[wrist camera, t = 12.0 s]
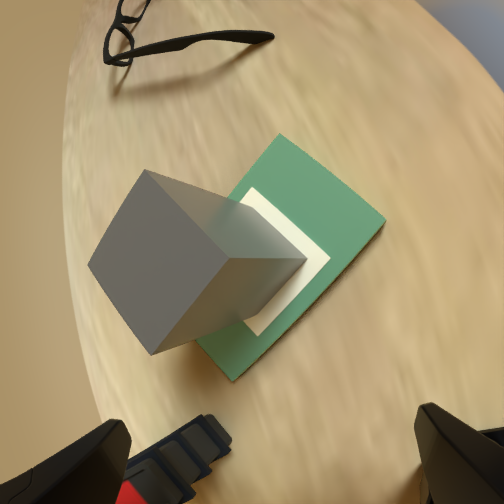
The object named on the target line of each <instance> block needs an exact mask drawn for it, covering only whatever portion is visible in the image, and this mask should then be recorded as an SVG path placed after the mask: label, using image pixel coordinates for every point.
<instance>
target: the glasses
mask: <svg viewBox="0 0 504 504" xmlns="http://www.w3.org/2000/svg"><path fill="white" fill-rule="evenodd" d="M123 1H124V0H119V3H118V6H117V10H116V16H115V19H114V22H113V24H112V26H111V27H110V29H109V31H108V33H107V35H106V38H105V42H104V48H103V61H104V63H105V64H107V65H115V66H120V67H125V66H128V65H129V64H131V62H132V61H133V58H134V57H140V56H145V55H151V54H158V53H165V52H171V51H179V50H183V49H184V48H186V47H188V46H189V45H191V44H193V43H195V42H198V41H201V40H224V41H232V42H240V43H248V44H257V43H260V42H263V41H266V40H270V39H273V38H275V36H274V34H273V33H270V32H265V31H253V30H224V31H214V32H207V33H201V34H196V35H190V36H184V37H179V38H174V39H169V40H165V41H161V42H157V43H153V44H149V45H146V46H142V47H139V48H136V49H134V42H135V41H134V38H133V36H132V35H131V33H130V32H129V30H128V29H127V28H126V27H125V26H124V25H123V24H122V23H126V24H130V23H136V22H138V21H140V20H141V19H142V16H143V14H144V12H145V10H146V8H147V6H148V4H149V3H150V1H151V0H147V1H146V5H145V8H144V10H143V12H142V14H141V15H140V16H139V17H138V18H134V17H129V16H123V15H122V14H121V7H122V3H123ZM114 29H118V30H119V31H120V32H122V33H123V34H124V35H125V36H126V37H127V38H128V40H129V41H130V45H131V50H130V51H127V52H124V53H121V54H117V55H113V56H110V54H109V49H108V48H109V40H110V36H111V33H112V31H113V30H114ZM128 58H129V60H128V62H123V61H119V60H122V59H128Z"/></svg>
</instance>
